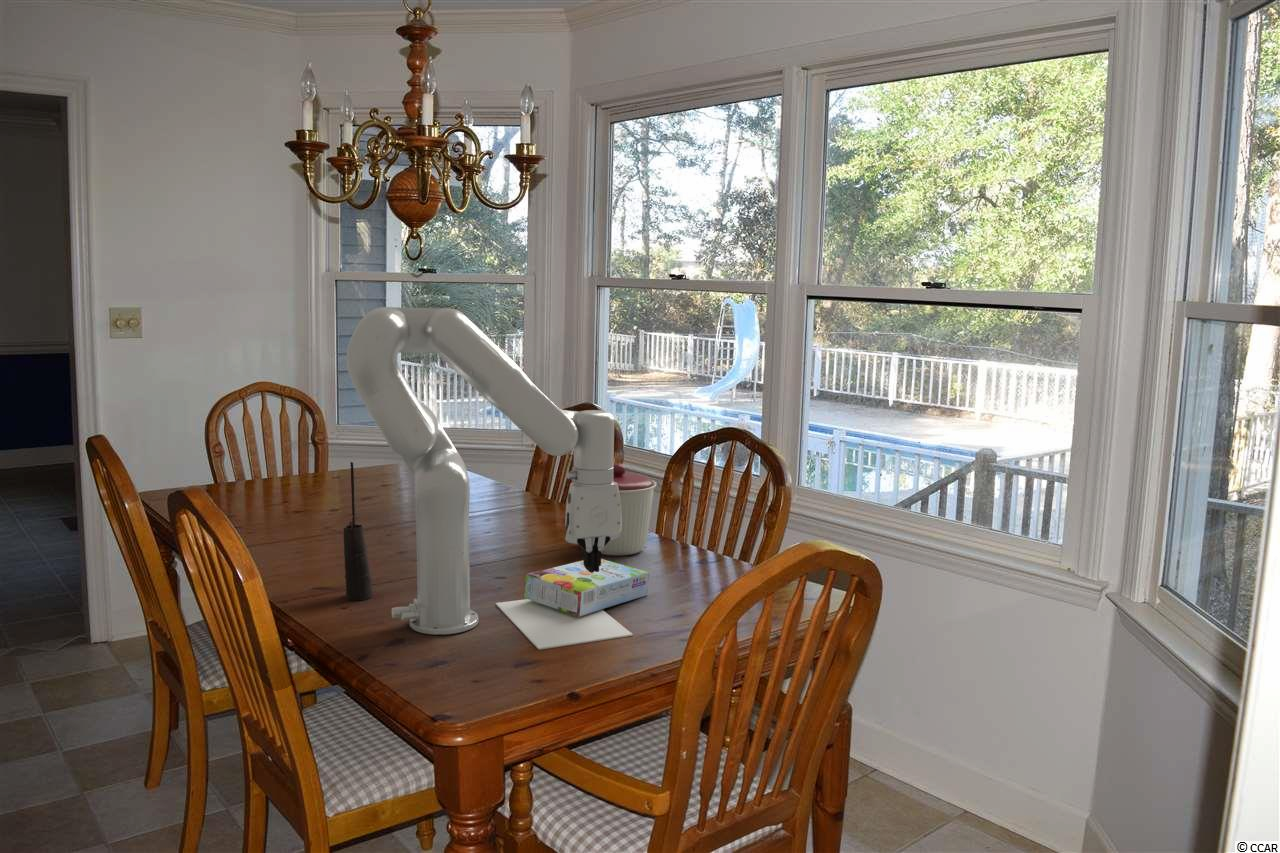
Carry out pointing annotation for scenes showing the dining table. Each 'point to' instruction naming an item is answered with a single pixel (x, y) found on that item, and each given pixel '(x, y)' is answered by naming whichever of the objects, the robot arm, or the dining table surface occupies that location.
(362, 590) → the butter churn
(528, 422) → the robot arm
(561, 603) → the snack box
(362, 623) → the dining table surface
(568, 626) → the mat
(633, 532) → the canister
